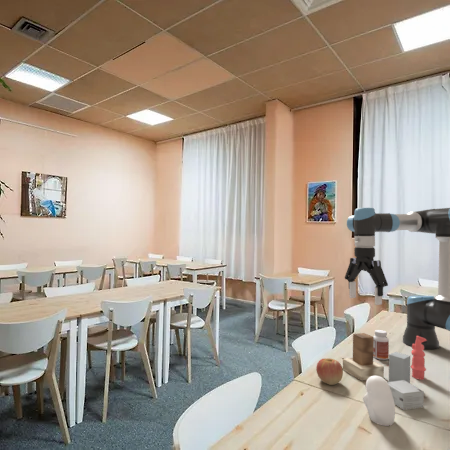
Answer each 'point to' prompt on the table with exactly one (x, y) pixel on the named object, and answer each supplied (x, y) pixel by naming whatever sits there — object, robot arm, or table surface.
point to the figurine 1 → (379, 401)
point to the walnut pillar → (363, 349)
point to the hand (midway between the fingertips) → (364, 301)
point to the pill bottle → (380, 345)
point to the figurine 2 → (418, 359)
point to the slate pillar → (399, 367)
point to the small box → (406, 395)
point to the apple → (329, 371)
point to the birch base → (362, 369)
